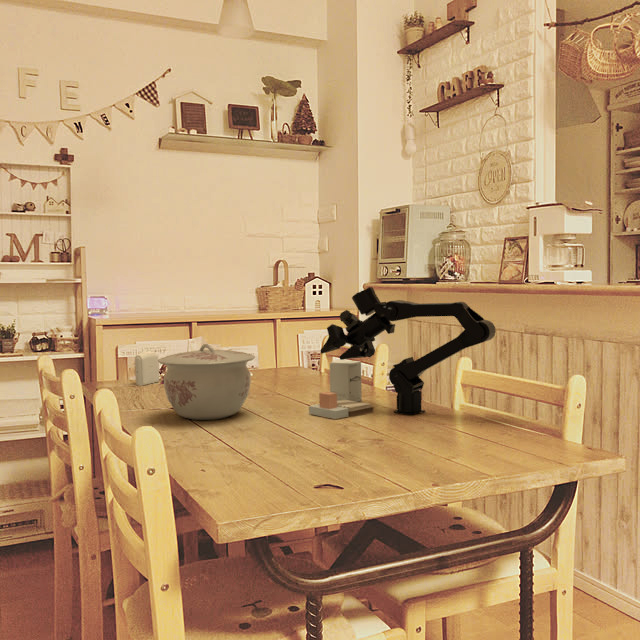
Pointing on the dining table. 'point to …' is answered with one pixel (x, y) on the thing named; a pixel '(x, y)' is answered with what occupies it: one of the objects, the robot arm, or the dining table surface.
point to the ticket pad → (355, 407)
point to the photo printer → (146, 368)
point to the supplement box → (346, 380)
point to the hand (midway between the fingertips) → (330, 355)
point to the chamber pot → (207, 382)
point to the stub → (328, 407)
